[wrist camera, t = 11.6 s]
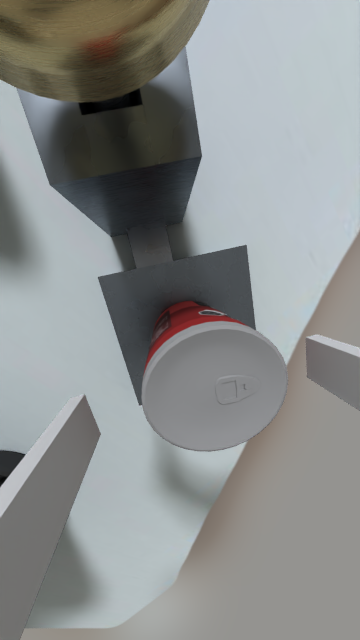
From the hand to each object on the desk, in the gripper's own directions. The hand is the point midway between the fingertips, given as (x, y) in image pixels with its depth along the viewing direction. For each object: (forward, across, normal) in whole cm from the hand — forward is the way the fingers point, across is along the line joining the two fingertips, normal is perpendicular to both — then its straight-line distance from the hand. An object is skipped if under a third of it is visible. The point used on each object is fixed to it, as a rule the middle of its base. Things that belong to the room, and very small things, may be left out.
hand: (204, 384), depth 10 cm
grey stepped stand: (+12, +1, +6) cm, 13 cm away
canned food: (+10, +1, 0) cm, 10 cm away
